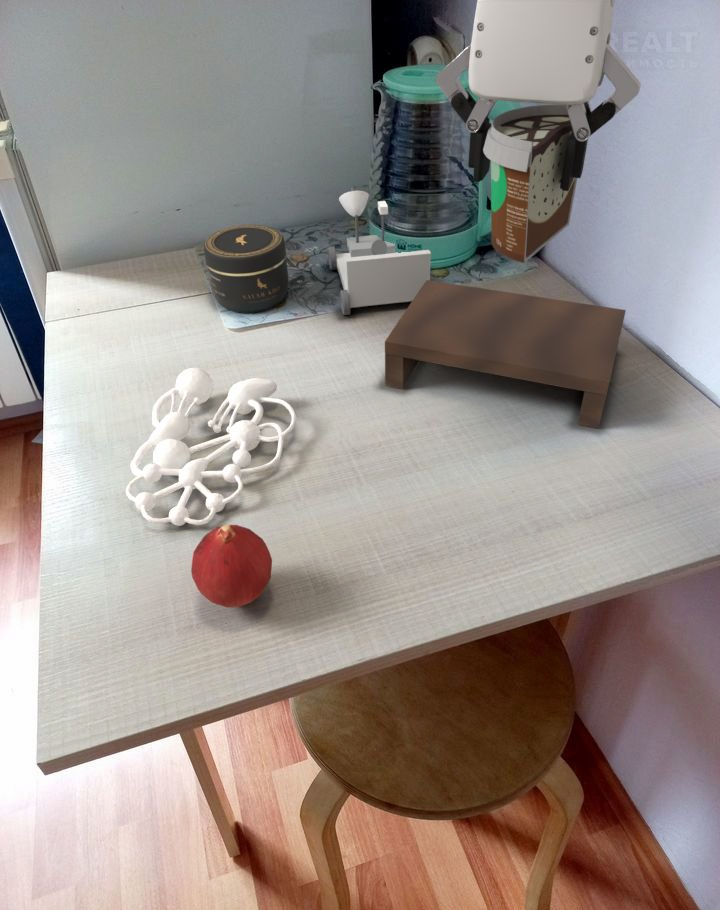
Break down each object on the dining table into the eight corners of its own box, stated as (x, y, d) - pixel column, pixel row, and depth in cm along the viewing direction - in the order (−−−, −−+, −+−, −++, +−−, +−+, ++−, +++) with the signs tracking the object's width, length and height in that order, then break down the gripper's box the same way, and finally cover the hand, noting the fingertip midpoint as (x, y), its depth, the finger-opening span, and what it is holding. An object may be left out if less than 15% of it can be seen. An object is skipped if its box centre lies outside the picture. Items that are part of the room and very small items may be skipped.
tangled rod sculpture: (250, 552, 59) (247, 520, 56) (90, 520, 61) (79, 487, 58) (309, 409, 73) (309, 377, 70) (177, 386, 75) (172, 354, 72)
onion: (187, 616, 53) (164, 545, 48) (223, 561, 57) (206, 490, 52) (256, 638, 52) (240, 566, 46) (289, 579, 56) (278, 507, 50)
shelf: (615, 354, 78) (625, 309, 75) (598, 429, 68) (609, 382, 65) (425, 321, 85) (426, 279, 81) (385, 386, 75) (384, 341, 71)
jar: (230, 324, 86) (220, 265, 81) (201, 291, 92) (190, 235, 87) (303, 301, 89) (298, 244, 84) (271, 271, 96) (264, 216, 91)
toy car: (321, 185, 93) (408, 177, 94) (326, 255, 99) (407, 247, 100) (339, 242, 79) (440, 232, 80) (344, 319, 86) (437, 309, 87)
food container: (515, 207, 69) (526, 96, 63) (575, 219, 66) (592, 104, 60) (451, 254, 62) (456, 133, 55) (516, 269, 59) (529, 143, 52)
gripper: (688, -84, 49) (632, 176, 61) (447, -82, 54) (438, 158, 66) (683, -74, 44) (623, 208, 56) (417, -72, 49) (413, 186, 61)
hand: (523, 179), depth 61 cm, fingers closed on food container, 6 cm apart
